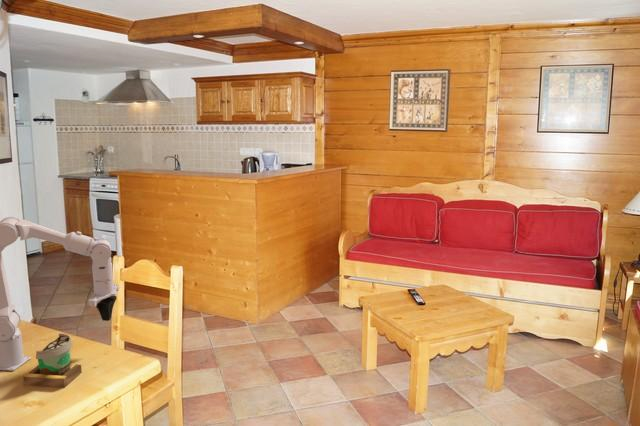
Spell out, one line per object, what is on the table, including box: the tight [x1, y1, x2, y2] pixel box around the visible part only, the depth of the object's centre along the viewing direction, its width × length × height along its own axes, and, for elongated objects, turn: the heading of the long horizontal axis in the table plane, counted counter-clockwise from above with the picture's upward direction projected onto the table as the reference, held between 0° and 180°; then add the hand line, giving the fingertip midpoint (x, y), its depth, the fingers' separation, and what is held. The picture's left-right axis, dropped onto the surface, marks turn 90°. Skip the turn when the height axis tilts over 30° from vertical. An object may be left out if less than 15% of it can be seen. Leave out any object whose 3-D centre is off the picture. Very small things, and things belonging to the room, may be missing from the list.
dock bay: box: [22, 364, 83, 389], centre depth 143 cm, size 12×8×3 cm
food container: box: [35, 333, 73, 376], centre depth 144 cm, size 12×6×10 cm, turn 178°
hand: (106, 319), depth 159 cm, fingers closed
